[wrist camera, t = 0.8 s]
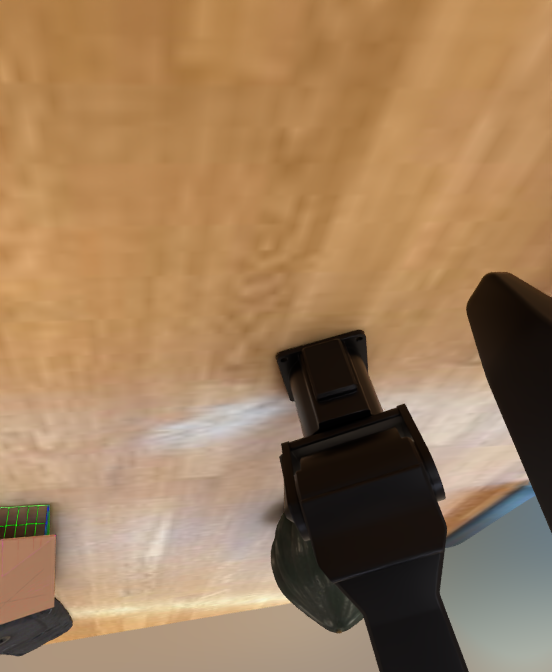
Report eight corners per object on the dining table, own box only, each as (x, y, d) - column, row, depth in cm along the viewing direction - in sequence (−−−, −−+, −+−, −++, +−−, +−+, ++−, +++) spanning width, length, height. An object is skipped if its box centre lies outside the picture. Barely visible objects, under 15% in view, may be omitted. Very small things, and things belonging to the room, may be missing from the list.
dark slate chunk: (-20, 640, 78) (-26, 674, 75) (-73, 613, 62) (-83, 656, 59) (78, 622, 82) (76, 654, 79) (52, 592, 65) (48, 631, 62)
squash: (381, 554, 64) (423, 642, 49) (276, 575, 63) (286, 670, 49) (368, 460, 62) (408, 521, 47) (258, 480, 61) (263, 549, 46)
